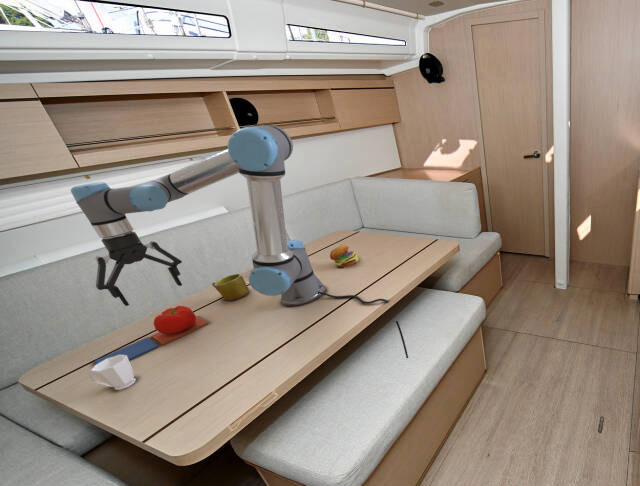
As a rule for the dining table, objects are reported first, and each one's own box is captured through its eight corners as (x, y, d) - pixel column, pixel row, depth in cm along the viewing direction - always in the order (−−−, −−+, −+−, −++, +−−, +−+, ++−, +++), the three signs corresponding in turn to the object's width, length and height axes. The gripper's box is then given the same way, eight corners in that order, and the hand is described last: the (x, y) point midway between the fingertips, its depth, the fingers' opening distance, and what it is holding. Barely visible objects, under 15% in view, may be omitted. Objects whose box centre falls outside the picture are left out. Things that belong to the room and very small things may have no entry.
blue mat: (158, 346, 116) (158, 345, 116) (104, 372, 106) (103, 370, 106) (148, 338, 121) (147, 337, 121) (95, 362, 111) (94, 360, 111)
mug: (259, 285, 147) (239, 268, 141) (240, 304, 140) (218, 287, 134) (242, 287, 153) (223, 271, 147) (223, 305, 146) (202, 289, 140)
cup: (130, 390, 98) (113, 368, 94) (88, 398, 96) (70, 376, 93) (148, 373, 104) (133, 351, 100) (109, 380, 102) (93, 358, 99)
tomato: (178, 338, 118) (167, 320, 115) (152, 337, 120) (141, 319, 117) (207, 320, 128) (198, 302, 124) (183, 319, 130) (173, 302, 126)
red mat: (208, 323, 126) (207, 322, 126) (162, 345, 117) (161, 343, 116) (196, 317, 131) (196, 315, 131) (152, 337, 122) (151, 335, 121)
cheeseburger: (356, 266, 162) (345, 247, 157) (335, 273, 162) (323, 255, 158) (361, 256, 171) (351, 239, 166) (341, 264, 171) (330, 246, 167)
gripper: (165, 220, 118) (195, 275, 127) (53, 248, 99) (98, 311, 108) (173, 222, 114) (203, 279, 123) (59, 252, 95) (104, 316, 104)
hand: (154, 294), depth 116 cm, fingers open, 13 cm apart
